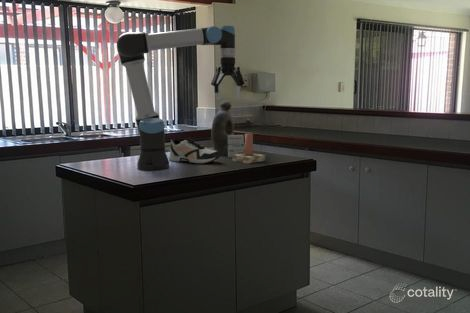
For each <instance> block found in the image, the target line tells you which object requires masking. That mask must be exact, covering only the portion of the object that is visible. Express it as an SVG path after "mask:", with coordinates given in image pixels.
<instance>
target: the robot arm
mask: <svg viewBox="0 0 470 313" xmlns="http://www.w3.org/2000/svg"><path fill="white" fill-rule="evenodd" d="M235 31H236V30H235V26H233V25H221V26H220V28H219V27H218V26H215V25H213V26H209V27H200V28H199V27H198V28H190V29H181V30H173V31H172V30H171V31H162V32H153V33H148V32H146V31H140V32H134V31H133V32H124V33H122V34H121V35H119V36H118V38H117V41H116V50H117V53H118V56H119V60H120V63H121V64H120V65H121V66H123V67H125V71H126V75H127V78H128V82H129V83H128V84H129V87H130V91H131V94H132V99H133V102H134V106H135V110H136V117H135V122H136V126H137V132H138V135H139V145H140V153H139V157H138V160H137V164H136V167H137V170H141V171H143V170H144V171H160V170H165V169H169V168H170V160H169V158H168V156H167V153H166V140H165V138H166V137H165V120H164V119H162V118H160V115H159V113H158V112H156V111H155V106H154V105H153V98H152V95H151V92H150V88H149V84H148V80H147V76H146V71H145V67H144V63H145V61H146V58H145V54H149V53H150V52H152V51H159V50H167V49H168V50H169V49H173V48H174V49H176V48H183V47H184V48H185V47H191V46H220V47H219V48H220V49H219V50H220V53H219V54H220V55H219V56H220V66H216V67H215V72H214V73H213V78H212V80H211V83H210V85H211V86H212V87H214V93H215V100H221V86H219V85H220V84H221V83H222V81H223V79H224V78H225V77H226V76H230V77H231V78H232V79H233V81H234V83H235V84H236V87H235V90H236V93H235V94H236V95H235V97H236V98H235V99H239V100H241V99H242V98H241V96H242V87H243V86H244V85H245V81H244V78H243V76H242V73H241V69H240V66H236V58H235V57H236V32H235Z"/></svg>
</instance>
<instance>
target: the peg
mask: <svg viewBox="0 0 470 313" xmlns="http://www.w3.org/2000/svg"><path fill="white" fill-rule="evenodd" d="M244 153H245V156H253V153H254V134H253V133H244Z"/></svg>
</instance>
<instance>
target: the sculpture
mask: <svg viewBox="0 0 470 313" xmlns="http://www.w3.org/2000/svg"><path fill="white" fill-rule="evenodd" d="M219 108H220V109H219V110H218V111H217V112H216V113H215V115H214V117H213V120H212V124H211V129H210V132H211V133H210V138H211V141H212V146H213V148H212V150H215V151H219V153H220V156H225V155H227V156H228V136H229V135H235V132H234V130H235V129H234V127H235V124H234V120H233V119H232V116H231V115H230V112H229V111H230V110H231V109H232V103H231V101H230V100H223V101H222V102H221V103H220V104H219Z"/></svg>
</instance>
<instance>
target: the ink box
mask: <svg viewBox="0 0 470 313" xmlns="http://www.w3.org/2000/svg"><path fill="white" fill-rule="evenodd" d="M243 153H245V134H233V135H229V136H228V155H227V158H232V155H235V154H243Z"/></svg>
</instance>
